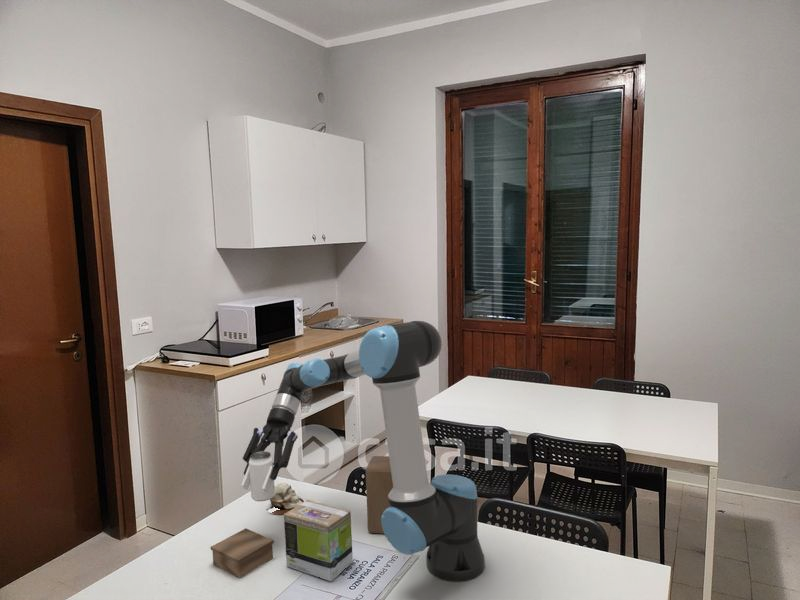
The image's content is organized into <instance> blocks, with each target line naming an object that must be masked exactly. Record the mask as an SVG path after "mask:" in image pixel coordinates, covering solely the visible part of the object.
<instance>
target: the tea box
mask: <svg viewBox="0 0 800 600" xmlns="http://www.w3.org/2000/svg"><path fill="white" fill-rule="evenodd" d="M283 519H284V520H283V522H284V523H283V525H284V539H285V540H284V541H285V543H284V545H285V558H286V560H285V561H286V566H287V567H288V568H291V569H294V570H297V571H300V572H302V573H306V574H308V575H311V576H313V577H317V578H319V577H320V579H322V580H325V581H328V582H332V581H334V580H335V579H336V578H337V577H338V576H340V575H341V574H342V573H343V572H344V571H345V570H346V569H345V568H347V567H348V566H349V565H350V564H351V563H352V564H353V540H352V539H353V536H352V516H351V511H350V510H348V509H345V508H341V507H337V506H332V505H330V504H324V503H322V502H317V501H313V500H308V499H306V500H304V502H303V503H302V504H300V505H298V506H297V507H295V508H293V509H292V510H290V511H288V512H287V513H285V514H283ZM352 564H351V565H352ZM351 565H350V566H351ZM350 566H349V567H350ZM349 567H348V568H349ZM344 569H345V570H344ZM343 570H344V571H343ZM342 571H343V572H342ZM341 572H342V573H341ZM340 573H341V574H340ZM339 574H340V575H339ZM334 578H335V579H334Z"/></svg>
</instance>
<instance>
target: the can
mask: <svg viewBox="0 0 800 600" xmlns="http://www.w3.org/2000/svg"><path fill="white" fill-rule="evenodd" d="M272 463H274V458H273V457H272V453H271V452H269V451H265V450H264V451H262V452H256V453H253V454H252V455H250V460H249V474H250V485H249V488H250V497H251V499H252V500H253V501H255V502H266V501H270V499H271V498H273V496H274V495H275V486H276V485H275V480H273V482H272V485H271V488H270V490H269V493H268V492H265V491H264V490H263V489H262V487H263V484H264V482H265V479H266V476H267V473H268V471H269V469H270V467H271V466H273V467H274V465H273V464H272Z"/></svg>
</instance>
